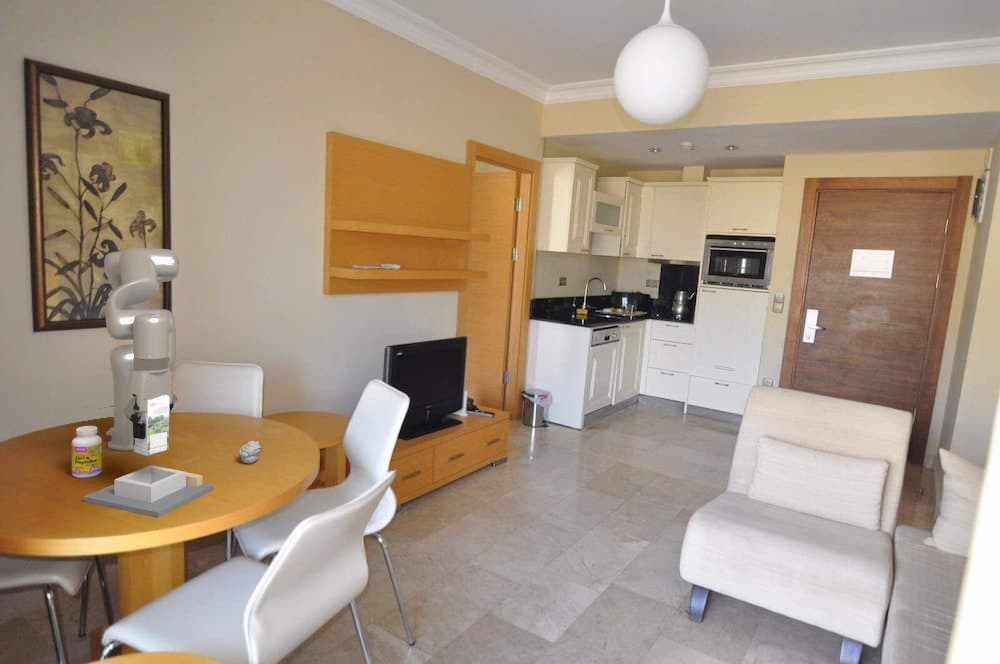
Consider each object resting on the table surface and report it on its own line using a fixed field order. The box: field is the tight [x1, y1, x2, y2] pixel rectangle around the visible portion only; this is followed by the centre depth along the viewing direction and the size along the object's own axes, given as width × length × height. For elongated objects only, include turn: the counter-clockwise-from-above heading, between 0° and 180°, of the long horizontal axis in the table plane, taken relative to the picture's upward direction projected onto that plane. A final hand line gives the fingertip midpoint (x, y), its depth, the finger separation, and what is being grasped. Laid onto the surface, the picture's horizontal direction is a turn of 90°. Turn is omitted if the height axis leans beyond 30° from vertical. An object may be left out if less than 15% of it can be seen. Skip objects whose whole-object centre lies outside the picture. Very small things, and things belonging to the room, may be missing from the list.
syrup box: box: [132, 395, 170, 457], centre depth 147 cm, size 6×6×14 cm
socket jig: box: [83, 464, 214, 518], centre depth 149 cm, size 22×18×5 cm
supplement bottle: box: [71, 425, 103, 479], centre depth 158 cm, size 7×7×13 cm
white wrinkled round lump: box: [238, 440, 263, 464], centre depth 175 cm, size 6×7×7 cm
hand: (151, 433), depth 147 cm, fingers closed on syrup box, 6 cm apart
